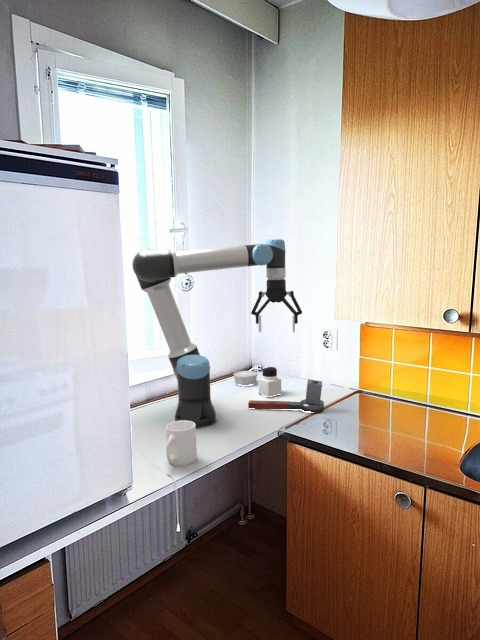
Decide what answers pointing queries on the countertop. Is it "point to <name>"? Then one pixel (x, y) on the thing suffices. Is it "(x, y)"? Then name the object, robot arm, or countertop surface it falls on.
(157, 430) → the countertop surface
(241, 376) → the ramekin
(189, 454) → the mug
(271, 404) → the ratchet
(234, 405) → the countertop surface
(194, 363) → the robot arm
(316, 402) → the socket
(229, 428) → the countertop surface
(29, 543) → the countertop surface
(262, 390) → the medicine bottle
